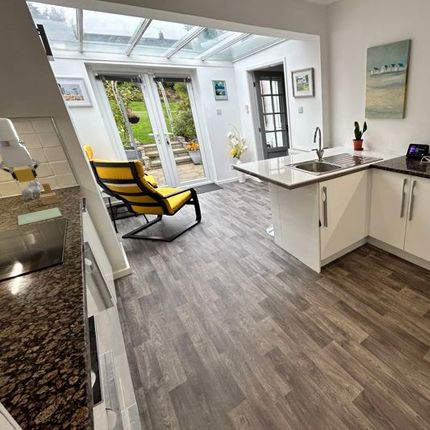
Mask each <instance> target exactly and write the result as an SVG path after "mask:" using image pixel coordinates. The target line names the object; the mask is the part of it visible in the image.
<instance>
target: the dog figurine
mask: <svg viewBox="0 0 430 430" xmlns="http://www.w3.org/2000/svg"><path fill="white" fill-rule="evenodd" d="M40 186H41V183H40V182H39V181H38V180H33V181H29V182H28V184H27V187H24V188H23V189H22V190H21V195H22V196H23V198H24V200H25V201H28V197H29V198H31V200H35V198H36V197H37V195H38V196H39V195H42V192H41V188H40ZM36 194H37V195H36Z"/></svg>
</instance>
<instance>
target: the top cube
mask: <svg viewBox="0 0 430 430" xmlns="http://www.w3.org/2000/svg"><path fill="white" fill-rule="evenodd" d="M13 171H14V173H15V175H16V177H17V179H18V181H17V182H18V183H26V182H30V181H33V182H34V181H36V178H35V177H34V175H33V173H32V171H31V168H30V167H25V168H17V169H13Z"/></svg>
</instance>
